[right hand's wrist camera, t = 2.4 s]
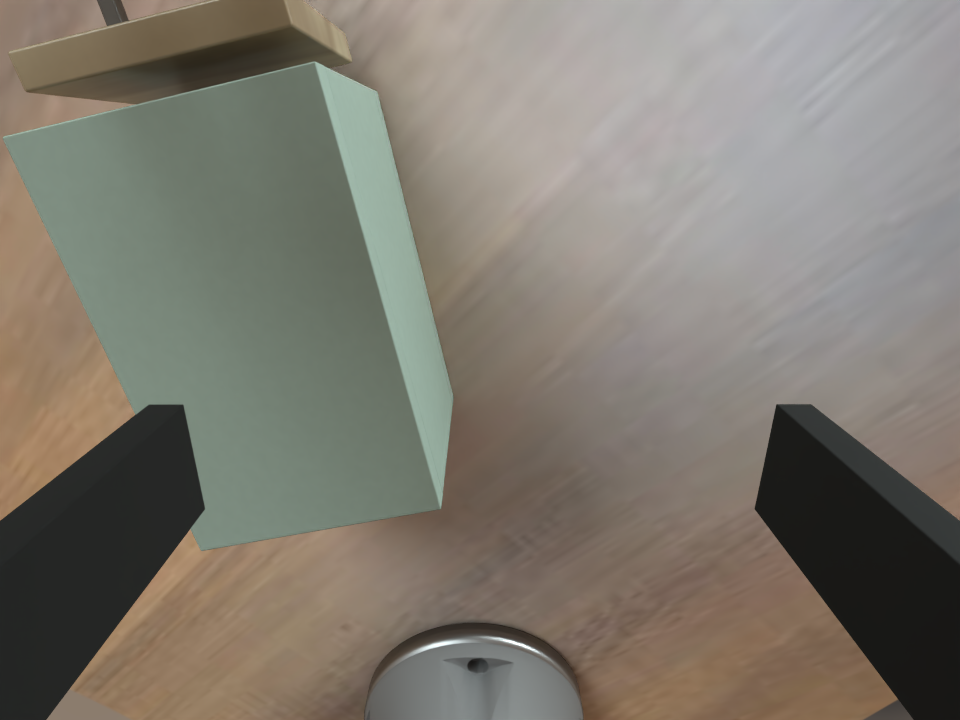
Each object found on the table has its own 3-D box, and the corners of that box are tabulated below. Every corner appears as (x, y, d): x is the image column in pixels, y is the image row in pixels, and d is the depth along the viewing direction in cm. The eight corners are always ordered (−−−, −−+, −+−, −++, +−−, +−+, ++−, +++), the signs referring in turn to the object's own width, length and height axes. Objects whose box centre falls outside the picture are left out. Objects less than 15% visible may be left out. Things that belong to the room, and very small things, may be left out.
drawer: (99, -65, 23) (-96, -170, 15) (305, -120, 23) (211, -260, 15) (266, 377, 30) (191, 458, 23) (426, 345, 30) (406, 418, 22)
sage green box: (173, 138, 27) (0, 136, 17) (377, 90, 26) (315, 60, 17) (284, 429, 33) (200, 551, 23) (453, 397, 32) (441, 509, 22)
